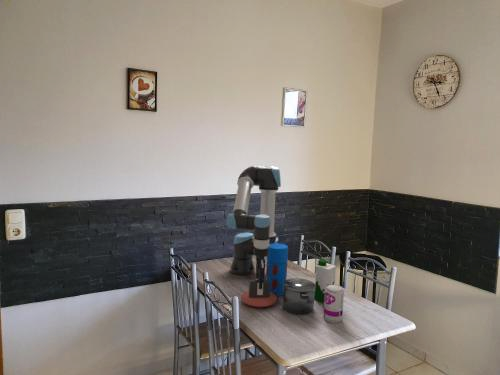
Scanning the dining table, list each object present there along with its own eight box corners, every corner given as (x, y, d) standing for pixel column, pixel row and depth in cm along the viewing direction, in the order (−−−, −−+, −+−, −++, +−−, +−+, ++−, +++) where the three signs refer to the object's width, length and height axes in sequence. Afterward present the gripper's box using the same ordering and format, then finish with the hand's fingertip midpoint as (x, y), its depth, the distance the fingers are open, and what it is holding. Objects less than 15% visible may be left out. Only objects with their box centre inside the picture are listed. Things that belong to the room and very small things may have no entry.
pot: (277, 299, 187) (278, 276, 185) (307, 298, 189) (308, 276, 188) (287, 318, 166) (288, 293, 165) (320, 317, 168) (322, 292, 167)
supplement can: (332, 325, 162) (334, 292, 160) (319, 317, 169) (321, 285, 167) (345, 320, 166) (347, 289, 164) (332, 313, 173) (334, 282, 171)
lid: (240, 292, 189) (240, 274, 188) (272, 291, 192) (273, 274, 190) (244, 307, 173) (244, 288, 171) (279, 306, 175) (280, 287, 174)
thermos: (284, 297, 190) (286, 249, 187) (263, 294, 192) (265, 247, 189) (286, 289, 200) (289, 244, 197) (267, 286, 203) (269, 242, 200)
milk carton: (320, 294, 195) (322, 257, 192) (335, 299, 189) (338, 262, 186) (311, 299, 188) (313, 261, 186) (326, 304, 182) (329, 265, 180)
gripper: (251, 242, 186) (249, 286, 189) (256, 252, 170) (254, 300, 173) (265, 242, 187) (263, 286, 190) (271, 252, 171) (269, 300, 174)
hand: (259, 292), depth 182 cm, fingers closed on lid, 3 cm apart
